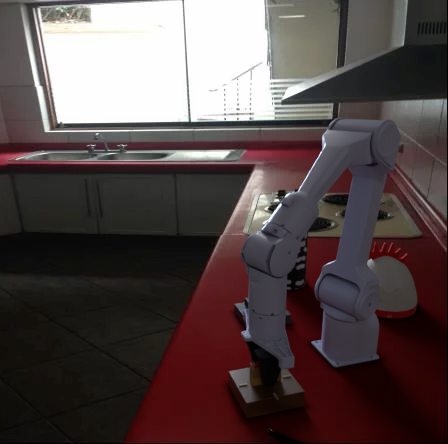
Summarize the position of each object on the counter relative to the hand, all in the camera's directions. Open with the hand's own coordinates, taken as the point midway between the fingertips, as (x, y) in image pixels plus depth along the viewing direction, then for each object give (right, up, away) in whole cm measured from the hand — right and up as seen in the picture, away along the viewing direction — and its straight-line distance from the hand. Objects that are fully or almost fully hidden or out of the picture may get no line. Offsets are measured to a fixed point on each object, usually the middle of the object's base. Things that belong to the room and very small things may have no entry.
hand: (265, 378), depth 70 cm
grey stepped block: (+5, +5, +24) cm, 25 cm away
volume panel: (0, -3, +1) cm, 3 cm away
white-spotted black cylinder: (+16, +10, +40) cm, 44 cm away
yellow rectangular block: (0, 0, 0) cm, 0 cm away
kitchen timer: (+34, +7, +28) cm, 44 cm away
